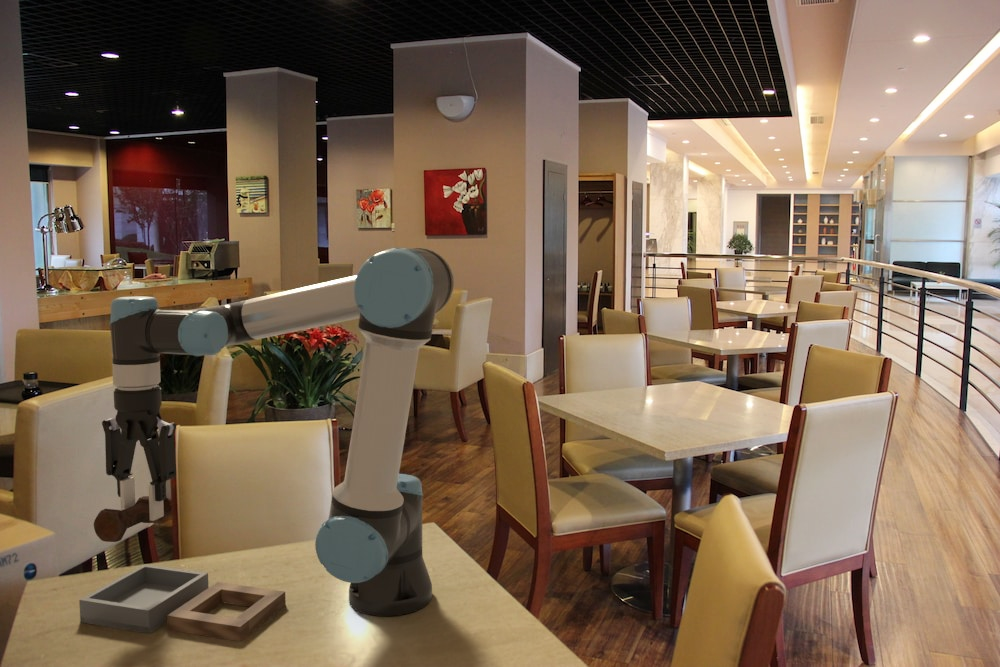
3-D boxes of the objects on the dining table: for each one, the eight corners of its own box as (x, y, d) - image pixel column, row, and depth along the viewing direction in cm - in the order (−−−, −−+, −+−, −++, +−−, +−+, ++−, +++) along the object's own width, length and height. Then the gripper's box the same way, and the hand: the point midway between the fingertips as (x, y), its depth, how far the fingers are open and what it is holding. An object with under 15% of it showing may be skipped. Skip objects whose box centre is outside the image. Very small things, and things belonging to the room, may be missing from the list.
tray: (208, 593, 150) (208, 572, 150) (149, 633, 135) (148, 610, 135) (145, 584, 154) (144, 564, 154) (80, 622, 139) (79, 599, 138)
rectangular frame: (285, 604, 146) (285, 591, 146) (240, 641, 133) (240, 626, 132) (218, 595, 150) (217, 582, 150) (167, 629, 136) (167, 615, 136)
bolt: (159, 482, 148) (102, 504, 134) (181, 497, 148) (126, 521, 133) (145, 508, 149) (88, 532, 135) (166, 523, 149) (111, 549, 134)
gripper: (196, 385, 141) (200, 514, 144) (109, 379, 146) (115, 504, 149) (167, 393, 134) (172, 529, 137) (77, 386, 139) (83, 518, 142)
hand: (142, 516), depth 143 cm, fingers closed on bolt, 5 cm apart
